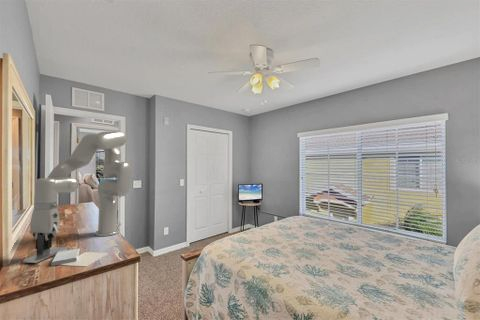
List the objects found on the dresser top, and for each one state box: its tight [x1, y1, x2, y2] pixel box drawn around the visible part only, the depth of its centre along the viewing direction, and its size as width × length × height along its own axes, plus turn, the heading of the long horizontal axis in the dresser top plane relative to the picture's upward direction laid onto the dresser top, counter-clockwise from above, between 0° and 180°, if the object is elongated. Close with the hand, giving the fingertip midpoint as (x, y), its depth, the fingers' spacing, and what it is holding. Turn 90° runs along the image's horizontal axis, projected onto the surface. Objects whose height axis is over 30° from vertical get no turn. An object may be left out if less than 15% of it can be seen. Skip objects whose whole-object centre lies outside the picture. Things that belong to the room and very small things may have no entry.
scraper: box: [22, 233, 68, 264], centre depth 95 cm, size 6×14×9 cm, turn 175°
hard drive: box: [50, 248, 81, 266], centre depth 94 cm, size 2×8×12 cm
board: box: [60, 251, 109, 268], centre depth 94 cm, size 13×11×1 cm
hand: (43, 248), depth 95 cm, fingers closed on scraper, 3 cm apart
